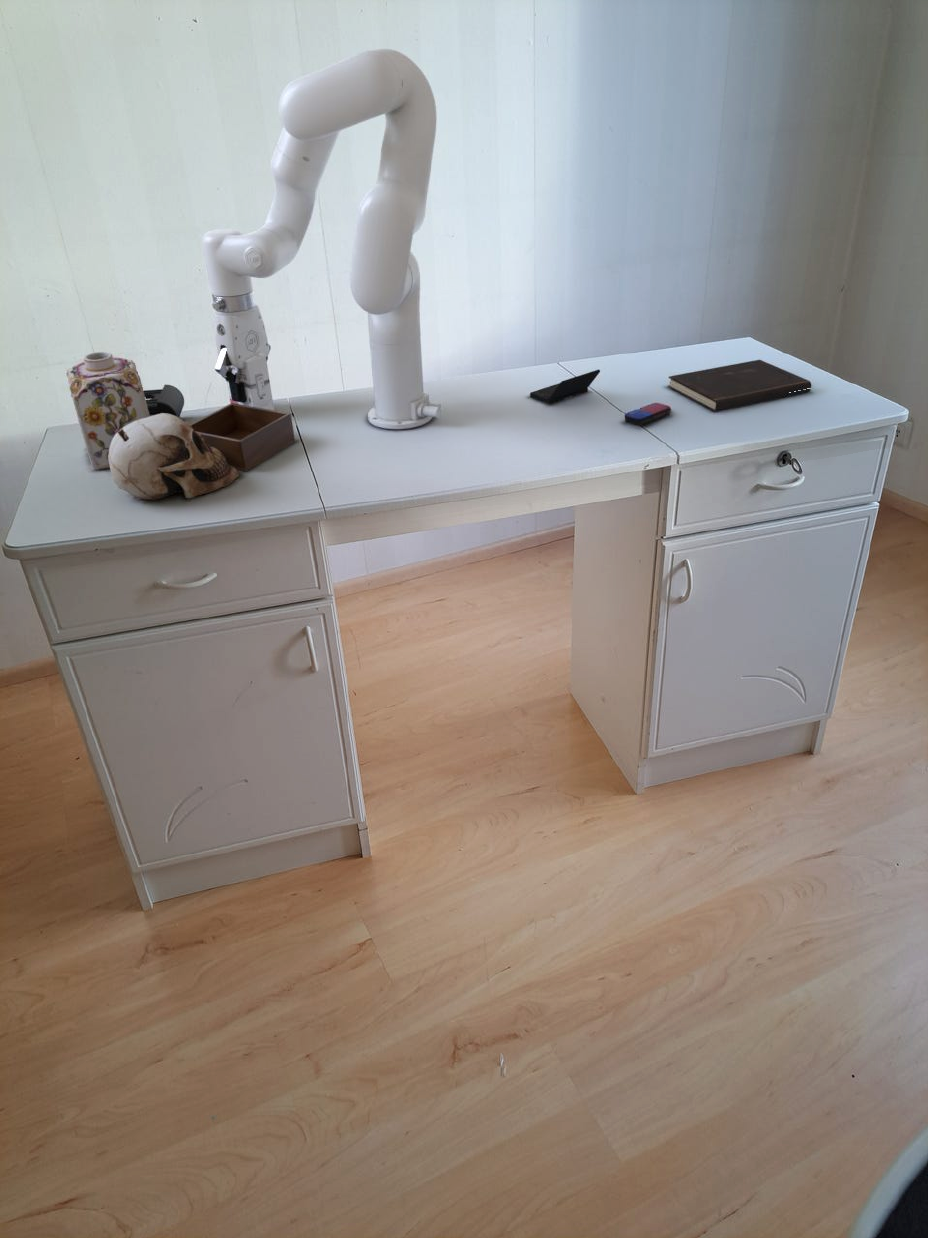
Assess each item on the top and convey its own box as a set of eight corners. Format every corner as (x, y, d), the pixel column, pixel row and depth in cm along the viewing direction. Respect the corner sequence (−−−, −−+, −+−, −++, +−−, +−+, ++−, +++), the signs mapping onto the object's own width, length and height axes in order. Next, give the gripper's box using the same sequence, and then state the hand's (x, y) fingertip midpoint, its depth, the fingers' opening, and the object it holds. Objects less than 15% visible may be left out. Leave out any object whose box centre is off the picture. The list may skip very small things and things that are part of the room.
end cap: (181, 435, 164) (173, 400, 161) (142, 438, 164) (134, 403, 160) (188, 416, 173) (180, 382, 169) (151, 418, 172) (143, 385, 168)
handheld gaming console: (559, 374, 181) (581, 344, 173) (581, 400, 181) (605, 370, 172) (524, 397, 176) (546, 366, 167) (548, 423, 175) (571, 394, 167)
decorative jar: (88, 447, 161) (60, 350, 150) (152, 436, 164) (129, 341, 154) (92, 472, 152) (62, 370, 141) (161, 459, 155) (136, 360, 145)
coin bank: (247, 471, 149) (225, 399, 141) (183, 525, 138) (155, 450, 129) (177, 461, 155) (152, 391, 147) (110, 511, 144) (79, 438, 135)
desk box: (295, 441, 160) (291, 413, 157) (246, 471, 150) (240, 441, 147) (236, 430, 166) (231, 402, 163) (185, 458, 155) (179, 429, 152)
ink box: (230, 410, 174) (219, 352, 168) (250, 403, 177) (240, 346, 171) (256, 420, 169) (245, 360, 163) (276, 413, 172) (267, 354, 166)
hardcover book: (667, 387, 178) (668, 376, 177) (757, 369, 186) (759, 359, 184) (715, 412, 166) (716, 401, 165) (810, 393, 173) (812, 381, 172)
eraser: (657, 408, 169) (658, 399, 168) (674, 413, 166) (675, 404, 166) (620, 422, 163) (621, 413, 162) (637, 428, 160) (638, 419, 159)
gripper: (219, 315, 154) (237, 413, 164) (278, 292, 166) (291, 384, 176) (186, 311, 156) (206, 407, 167) (247, 289, 169) (262, 379, 179)
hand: (250, 394), depth 171 cm, fingers closed on ink box, 5 cm apart
